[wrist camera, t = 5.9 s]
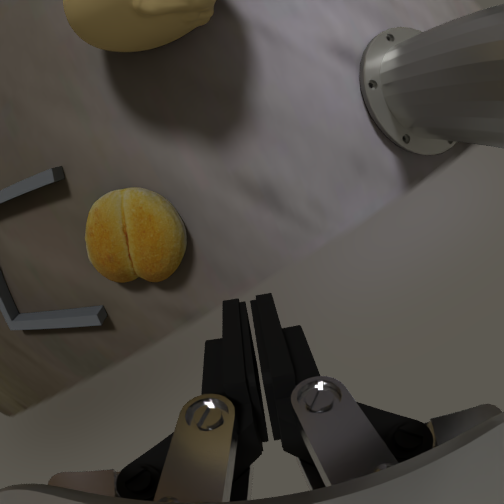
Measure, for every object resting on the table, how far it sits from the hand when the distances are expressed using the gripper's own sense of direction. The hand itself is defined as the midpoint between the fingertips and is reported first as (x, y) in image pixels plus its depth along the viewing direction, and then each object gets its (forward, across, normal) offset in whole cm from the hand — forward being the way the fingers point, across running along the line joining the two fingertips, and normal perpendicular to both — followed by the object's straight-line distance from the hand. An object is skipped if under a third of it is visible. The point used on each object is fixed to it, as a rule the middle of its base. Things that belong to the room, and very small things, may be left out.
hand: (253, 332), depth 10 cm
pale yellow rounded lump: (+16, +4, -20) cm, 26 cm away
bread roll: (+16, +9, 0) cm, 18 cm away
